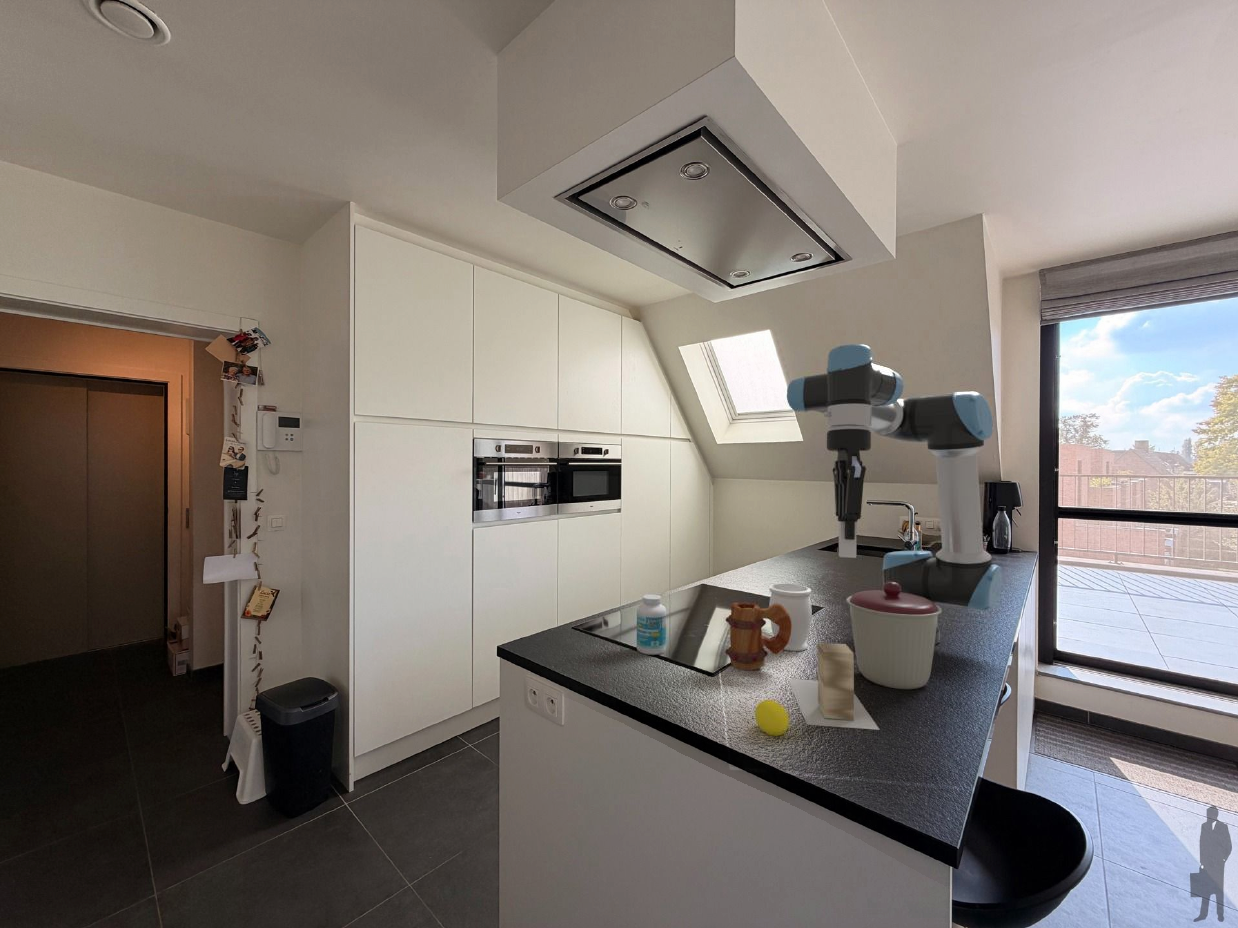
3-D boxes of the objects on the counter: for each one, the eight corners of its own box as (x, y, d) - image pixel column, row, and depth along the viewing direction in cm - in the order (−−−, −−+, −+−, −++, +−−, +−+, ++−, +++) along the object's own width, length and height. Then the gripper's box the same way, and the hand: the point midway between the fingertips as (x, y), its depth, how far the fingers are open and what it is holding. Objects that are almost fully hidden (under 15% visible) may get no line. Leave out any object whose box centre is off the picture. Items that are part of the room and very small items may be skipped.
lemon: (796, 741, 86) (799, 711, 86) (769, 747, 84) (772, 716, 84) (770, 717, 93) (772, 689, 92) (745, 722, 91) (747, 693, 90)
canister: (931, 707, 98) (930, 596, 98) (834, 680, 110) (833, 582, 110) (950, 679, 111) (949, 581, 111) (862, 658, 123) (861, 570, 124)
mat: (846, 684, 108) (846, 682, 108) (879, 731, 88) (879, 729, 88) (787, 680, 110) (787, 678, 110) (807, 726, 90) (807, 724, 90)
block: (845, 708, 96) (845, 644, 96) (853, 720, 91) (853, 653, 92) (818, 706, 97) (817, 642, 97) (824, 718, 92) (824, 651, 92)
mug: (722, 670, 115) (722, 603, 116) (727, 658, 123) (727, 595, 123) (791, 680, 110) (791, 609, 111) (792, 666, 118) (792, 601, 118)
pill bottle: (632, 653, 126) (632, 598, 127) (642, 644, 133) (642, 591, 133) (661, 657, 124) (661, 601, 124) (670, 647, 130) (670, 594, 131)
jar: (818, 653, 127) (817, 592, 127) (775, 653, 127) (775, 592, 127) (803, 639, 137) (803, 583, 137) (764, 639, 137) (764, 582, 138)
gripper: (819, 432, 103) (818, 551, 102) (836, 425, 90) (834, 561, 89) (859, 433, 101) (858, 553, 101) (882, 425, 88) (881, 563, 88)
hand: (847, 556), depth 95 cm, fingers closed
